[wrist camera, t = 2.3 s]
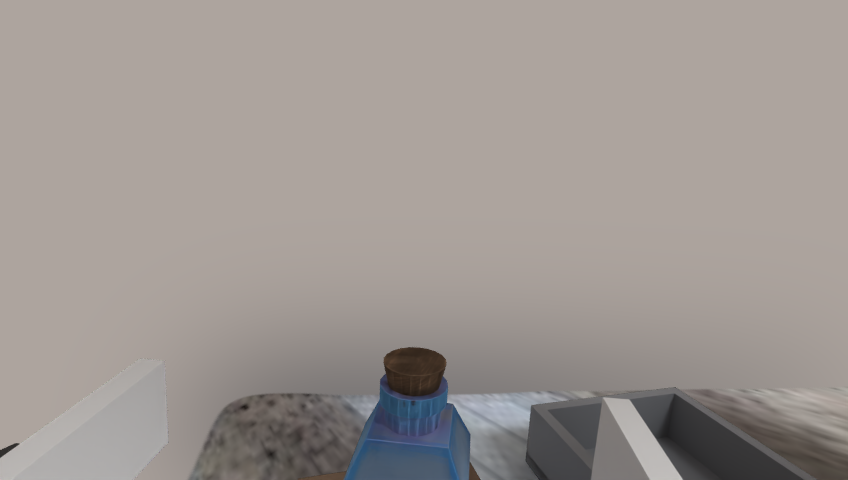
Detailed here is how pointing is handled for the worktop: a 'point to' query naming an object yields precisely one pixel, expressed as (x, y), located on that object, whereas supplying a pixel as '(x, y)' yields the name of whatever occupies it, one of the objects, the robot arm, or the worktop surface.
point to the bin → (672, 428)
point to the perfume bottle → (412, 424)
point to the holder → (338, 478)
